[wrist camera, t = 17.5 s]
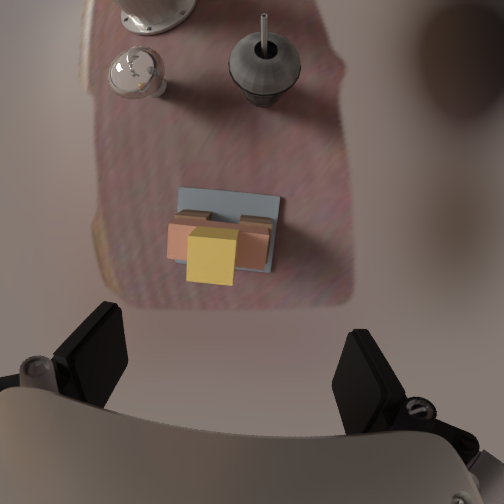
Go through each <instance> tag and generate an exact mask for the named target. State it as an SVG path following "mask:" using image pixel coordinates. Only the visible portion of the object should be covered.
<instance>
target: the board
mask: <svg viewBox="0 0 504 504" xmlns="http://www.w3.org/2000/svg"><path fill="white" fill-rule="evenodd" d="M279 202H280V196H273V195H264V194H255V193H246V192H236V191H226V190H214V189H202V188H189V187H179V191H178V206H177V213H178V212H180V211H182V210H183V209H189V210H201V211H212V221H217V222H225V223H234V224H239V220H240V217H241V214H242V215H251V216H261V217H270V218H271V222H272V232H271V240H270V248H269V256H268V263H267V264H265V268H264V270H257V269H248V268H240V267H236V269H238V270H247V271H257V272H267V273H270V271H271V264H272V256H273V249H274V241H275V234H276V226H277V218H278V210H279ZM175 263H184V264H187V261H185V260H178V259H175Z"/></svg>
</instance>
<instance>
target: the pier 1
mask: <svg viewBox="0 0 504 504" xmlns="http://www.w3.org/2000/svg"><path fill="white" fill-rule="evenodd" d="M178 217H181V218H190V219H199V220H208V221H212V211H201V210H189V209H183V210H182V211H180V212H178V213H177V214H175V216H174V220H175V219H176V218H178Z"/></svg>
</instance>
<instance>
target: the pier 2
mask: <svg viewBox="0 0 504 504" xmlns="http://www.w3.org/2000/svg"><path fill="white" fill-rule="evenodd" d="M239 224H242V225H250V226H258V227H266V228H268V232H269V240H268V247H267V254H266V261H265V264H267V263H268V256H269V248H270V240H271V232H272V222H271V218H270V217H261V216H251V215H242V214H241V217H240V220H239Z"/></svg>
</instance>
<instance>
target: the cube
mask: <svg viewBox="0 0 504 504" xmlns="http://www.w3.org/2000/svg"><path fill="white" fill-rule="evenodd" d="M238 234H239V230H235V229H224V228H213V227H202V226H197V227H196V228H195V229H194V230H193V231H192V232H191V233H190V234H189V235H188V245H187V281H192V282H201V283H211V284H220V285H230V286H233V280H234V275H235V269H236V258H237V246H238Z"/></svg>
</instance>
